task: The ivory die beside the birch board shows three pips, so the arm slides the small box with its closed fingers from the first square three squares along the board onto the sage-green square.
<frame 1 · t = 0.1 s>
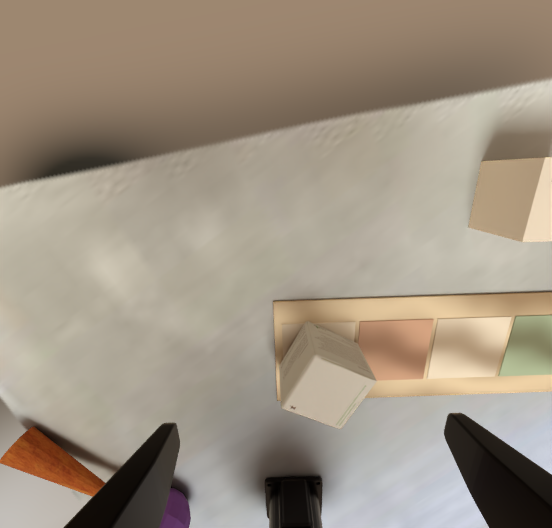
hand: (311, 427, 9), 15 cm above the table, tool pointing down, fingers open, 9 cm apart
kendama: (118, 466, 30), on the table
small box: (317, 352, 25), resting on game board
game board: (428, 348, 25), on the table
die: (505, 194, 21), on the table
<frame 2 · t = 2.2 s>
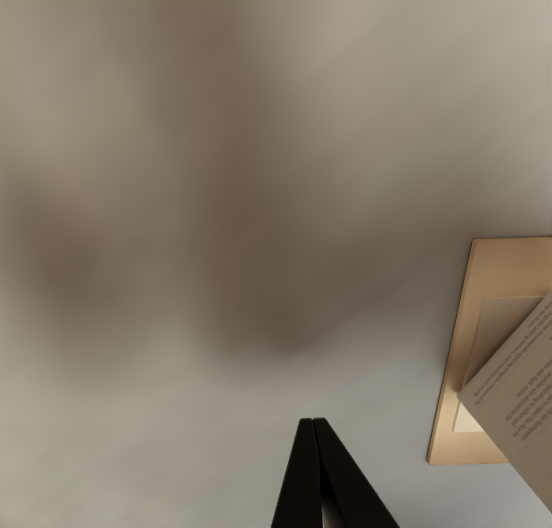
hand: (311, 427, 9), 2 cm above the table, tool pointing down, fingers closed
small box: (543, 366, 11), resting on game board
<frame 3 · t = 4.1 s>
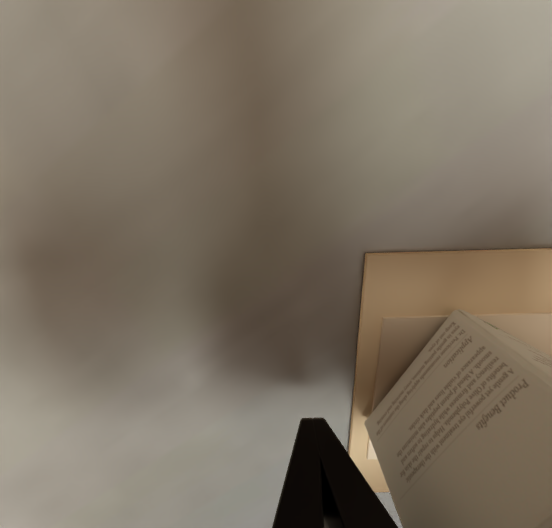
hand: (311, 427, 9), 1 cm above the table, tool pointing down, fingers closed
small box: (459, 390, 10), resting on game board, touching gripper
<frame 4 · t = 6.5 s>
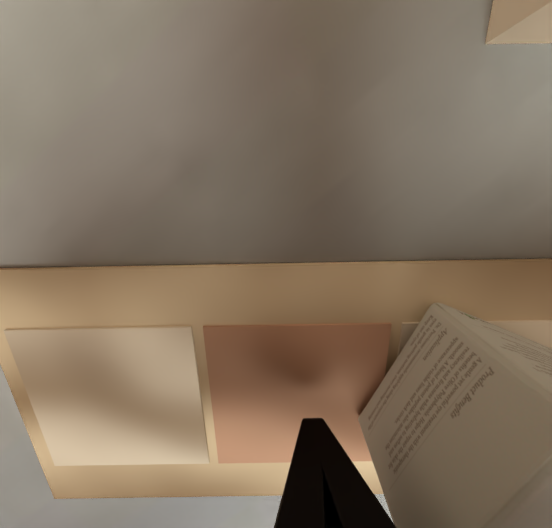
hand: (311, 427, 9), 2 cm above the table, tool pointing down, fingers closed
small box: (450, 381, 10), resting on game board, touching gripper
game board: (383, 393, 11), on the table
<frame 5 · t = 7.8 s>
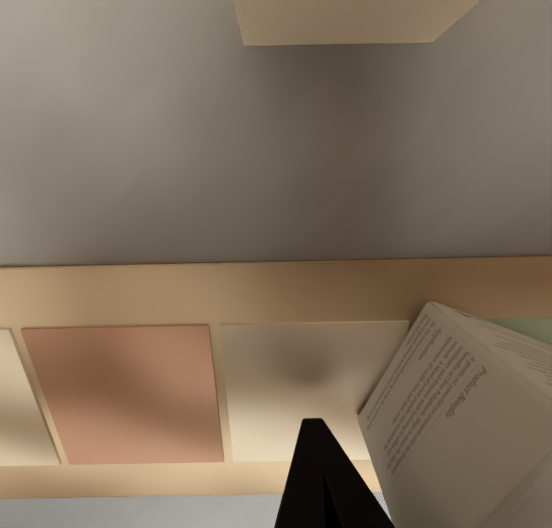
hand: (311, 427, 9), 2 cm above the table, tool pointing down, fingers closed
small box: (448, 379, 10), resting on game board, touching gripper
game board: (223, 394, 11), on the table
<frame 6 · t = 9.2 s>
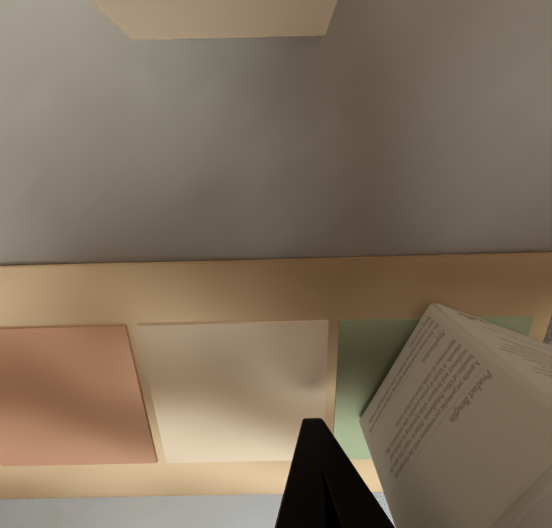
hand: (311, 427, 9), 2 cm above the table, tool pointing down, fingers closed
small box: (451, 381, 10), resting on game board, touching gripper
game board: (151, 395, 10), on the table
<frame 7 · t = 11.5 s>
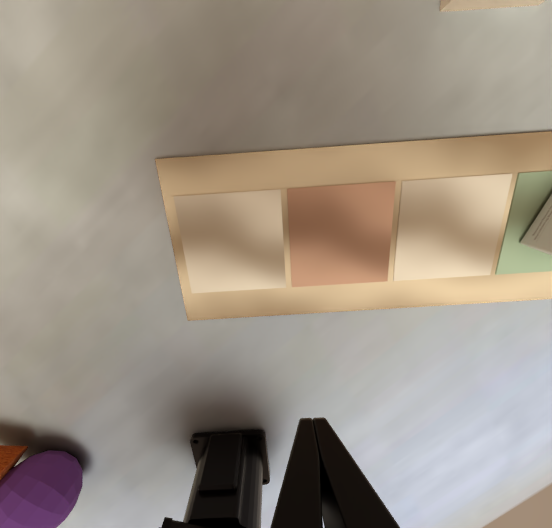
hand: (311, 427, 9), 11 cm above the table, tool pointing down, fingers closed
game board: (392, 233, 18), on the table
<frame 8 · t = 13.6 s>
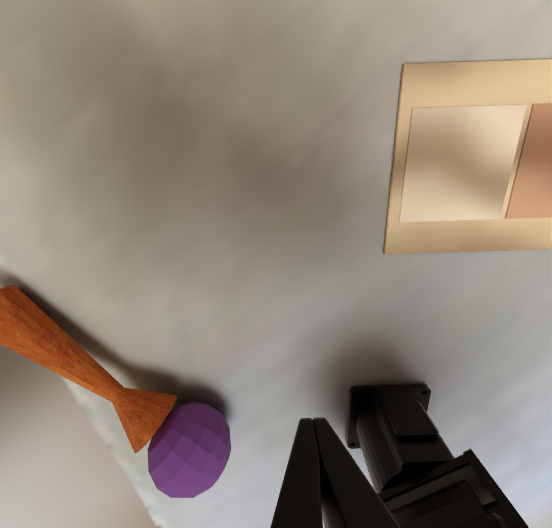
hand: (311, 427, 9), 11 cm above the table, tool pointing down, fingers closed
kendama: (132, 367, 22), on the table
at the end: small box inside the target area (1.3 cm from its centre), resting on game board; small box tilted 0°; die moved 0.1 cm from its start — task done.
